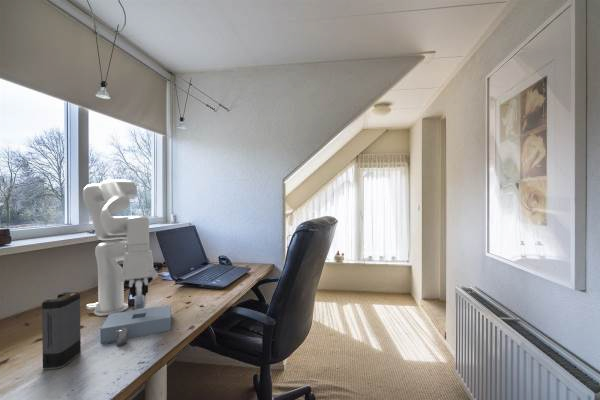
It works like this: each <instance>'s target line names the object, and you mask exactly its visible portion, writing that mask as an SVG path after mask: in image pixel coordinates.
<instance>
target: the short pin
mask: <svg viewBox="0 0 600 400" xmlns="http://www.w3.org/2000/svg"><path fill="white" fill-rule="evenodd" d="M115 341H116V342H115V347H118V348H119V347H124V346H127V345H128V338H127V328H120V329H118V330H116V340H115Z"/></svg>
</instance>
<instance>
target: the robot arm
mask: <svg viewBox="0 0 600 400" xmlns="http://www.w3.org/2000/svg"><path fill="white" fill-rule="evenodd" d="M137 194H138V187H137V185H136V183H135V182H133V181H132V180H129V179H105V180H103V181H101V182H100V183H91V184H90V183H89V184H86V186H85V187H84V188H83V190H82V198H83V202H84V204H85V206H86V208H87V210H88V211H89V213H90V215H91V219H92V224H93V229H94V233H95V237H96V238H97V239H98V240H100V241H102V242H99V243H98V244H97V245H96V246H95V249H94V252H95V253H94V255H95V258H96V264H97V284H98V285H97V287H98V288H97V290H98V291H97V294H98V297H97V298H98V301H96V302H95V303H87V304H86V309H87V310H90V311H91V310H93V309H94V311H93V314H94V315H95V316H99V317H104V316H109V314H112V313H119V312H125V310H127V309H128V308H129V305H128V303H125V291H124V289H125V287H124V284H126V285H127V286H128V287H129V295H130V296H131V298H135V293H134V279H140V278H144V285H143V296H144V297H145V296H147V294H148V293H149V284H150V283H151V282H152V281H153V280H155V279H156V278H158V277H159V273H158V272H157V270H156V269H155V267H154V258H153V251H152V250H151V249H150V220H149V217H147V216H145V215H144V216H143V215H118V216H117V214H119V213H122V212H124V211H125V210H127V209H128V208H129V206H130V203H131V201H130V200H131V199H135V197H136V196H137ZM119 261H123V263H122V266H121V265H120V264H118V262H119Z"/></svg>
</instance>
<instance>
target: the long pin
mask: <svg viewBox="0 0 600 400" xmlns="http://www.w3.org/2000/svg"><path fill="white" fill-rule="evenodd" d="M143 285H144V278H140V279H134V293H135V296H134V310H139V309H144V308H145V296H143Z"/></svg>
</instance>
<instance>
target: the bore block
mask: <svg viewBox="0 0 600 400" xmlns="http://www.w3.org/2000/svg"><path fill="white" fill-rule="evenodd" d="M171 322H172V304H168V305H167V304H166V305H161V306H153V307H148V308H147V307H146V308H140V309H134V310H127V311H122V312H119V313H112V314H109V315H107V317H106V319H105V321H104V322H103V323H102V325H101V327H100V328H99V332H100V333H99V337H100V340H99V342H100V344H104V343H108V342H113V341H114V342H115V341H116V330H118V329H120V328H127V339H131V338H136V337H141V336H149V335H153V334H158V333H164V332H169V331H171Z"/></svg>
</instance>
